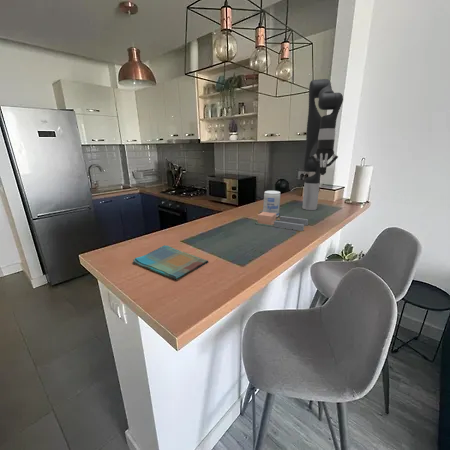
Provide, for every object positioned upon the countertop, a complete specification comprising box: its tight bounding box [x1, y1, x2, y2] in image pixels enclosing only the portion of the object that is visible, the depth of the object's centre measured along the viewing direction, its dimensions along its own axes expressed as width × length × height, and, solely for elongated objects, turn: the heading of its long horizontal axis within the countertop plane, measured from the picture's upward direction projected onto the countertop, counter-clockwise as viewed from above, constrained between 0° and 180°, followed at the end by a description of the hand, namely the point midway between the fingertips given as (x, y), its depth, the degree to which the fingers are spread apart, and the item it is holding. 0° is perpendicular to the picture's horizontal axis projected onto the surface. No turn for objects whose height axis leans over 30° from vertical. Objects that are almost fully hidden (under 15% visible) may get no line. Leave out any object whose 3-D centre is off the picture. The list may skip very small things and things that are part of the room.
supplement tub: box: [262, 190, 281, 218], centre depth 148 cm, size 10×10×15 cm
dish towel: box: [132, 245, 209, 282], centre depth 93 cm, size 17×23×2 cm
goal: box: [255, 218, 280, 227], centre depth 138 cm, size 12×10×1 cm
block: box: [257, 211, 277, 225], centre depth 138 cm, size 7×8×5 cm
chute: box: [273, 215, 309, 232], centre depth 132 cm, size 11×15×3 cm
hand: (322, 174), depth 127 cm, fingers closed
